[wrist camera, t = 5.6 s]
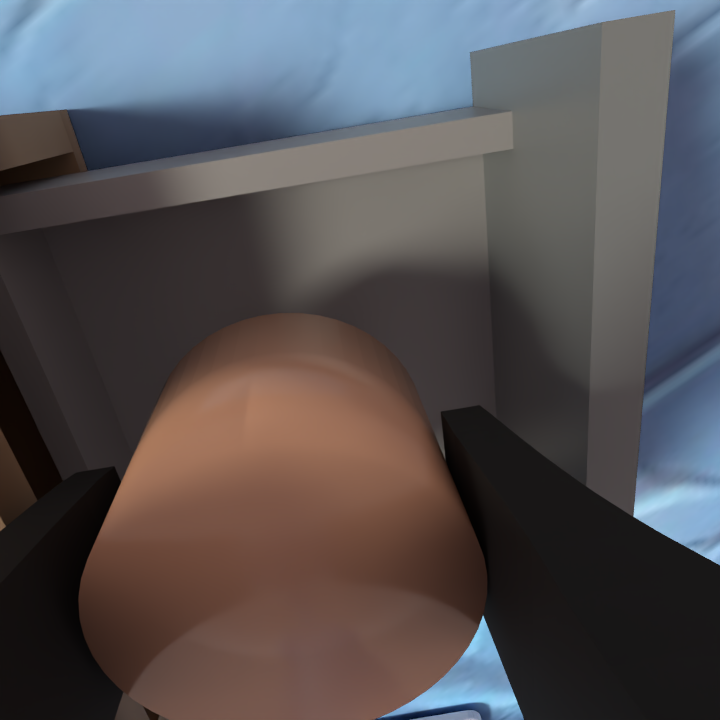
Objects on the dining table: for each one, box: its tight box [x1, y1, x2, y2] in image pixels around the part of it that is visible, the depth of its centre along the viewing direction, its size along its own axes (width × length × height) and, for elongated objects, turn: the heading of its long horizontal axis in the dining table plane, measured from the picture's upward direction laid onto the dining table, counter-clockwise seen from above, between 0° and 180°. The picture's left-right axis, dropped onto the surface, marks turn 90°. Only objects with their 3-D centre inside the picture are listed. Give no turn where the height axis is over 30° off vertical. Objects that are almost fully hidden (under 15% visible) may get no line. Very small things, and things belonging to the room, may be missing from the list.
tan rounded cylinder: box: [78, 313, 487, 720], centre depth 9 cm, size 5×5×4 cm
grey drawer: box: [0, 10, 675, 516], centre depth 11 cm, size 11×12×6 cm
